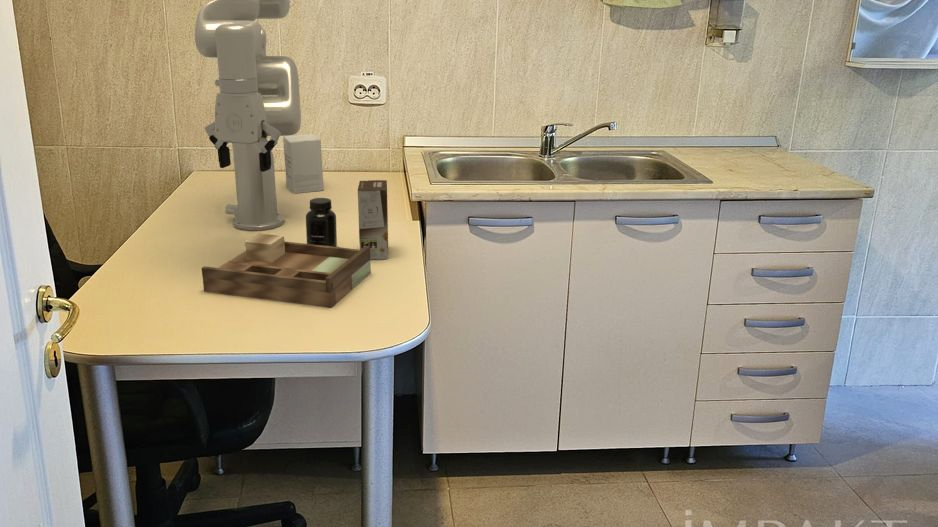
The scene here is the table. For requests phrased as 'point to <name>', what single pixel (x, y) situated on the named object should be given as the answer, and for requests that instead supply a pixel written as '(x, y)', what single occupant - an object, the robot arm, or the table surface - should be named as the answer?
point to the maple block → (265, 247)
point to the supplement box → (303, 163)
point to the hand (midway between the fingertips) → (245, 168)
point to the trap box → (293, 275)
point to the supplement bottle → (321, 223)
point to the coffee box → (373, 217)
